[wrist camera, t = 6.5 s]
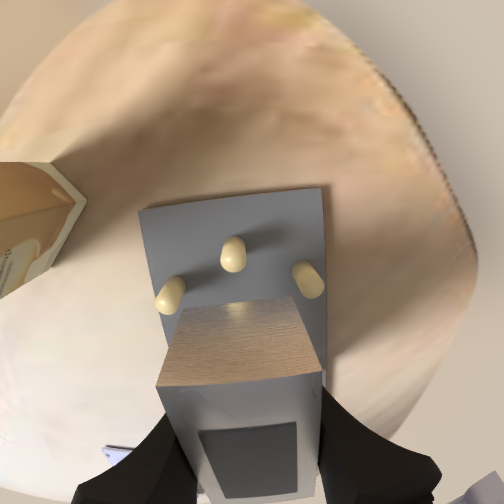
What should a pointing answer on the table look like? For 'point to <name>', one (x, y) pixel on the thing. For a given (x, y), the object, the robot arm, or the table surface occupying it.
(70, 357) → the table surface
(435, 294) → the table surface
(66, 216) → the skincare box
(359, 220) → the table surface
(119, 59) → the table surface
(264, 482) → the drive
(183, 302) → the grey peg board
